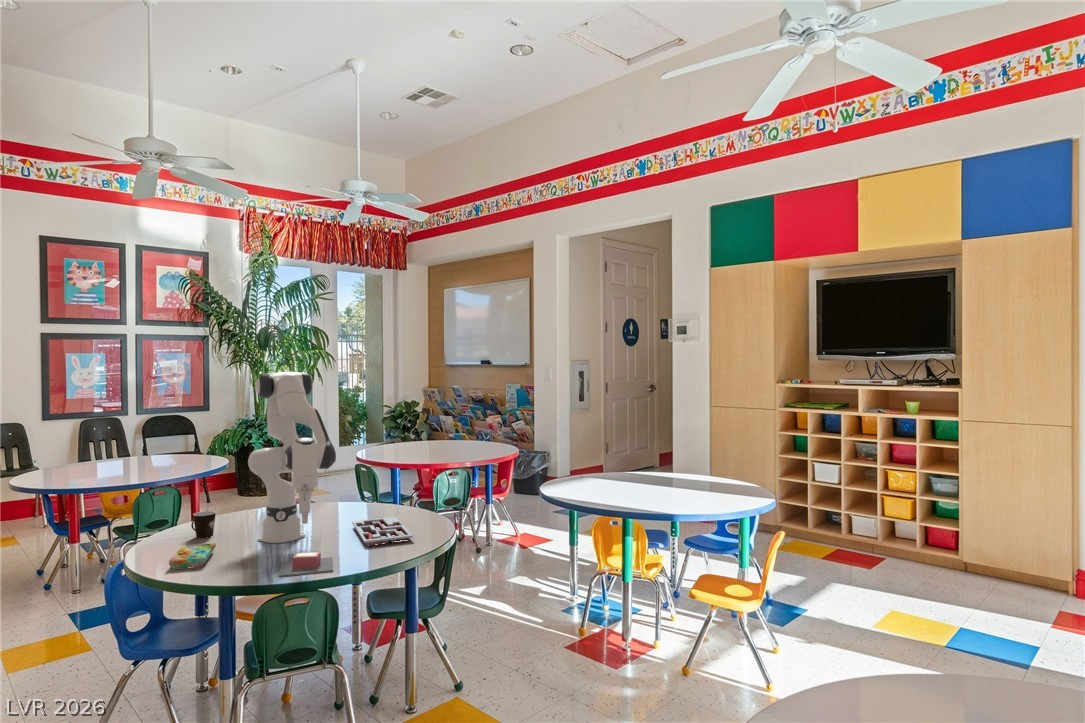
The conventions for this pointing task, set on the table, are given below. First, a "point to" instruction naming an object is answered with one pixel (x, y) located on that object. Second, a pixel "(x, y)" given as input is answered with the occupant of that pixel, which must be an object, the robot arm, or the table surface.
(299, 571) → the mat
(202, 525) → the coffee mug
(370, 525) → the maze game
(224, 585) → the table surface
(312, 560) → the card deck
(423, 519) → the table surface
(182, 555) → the puzzle game
